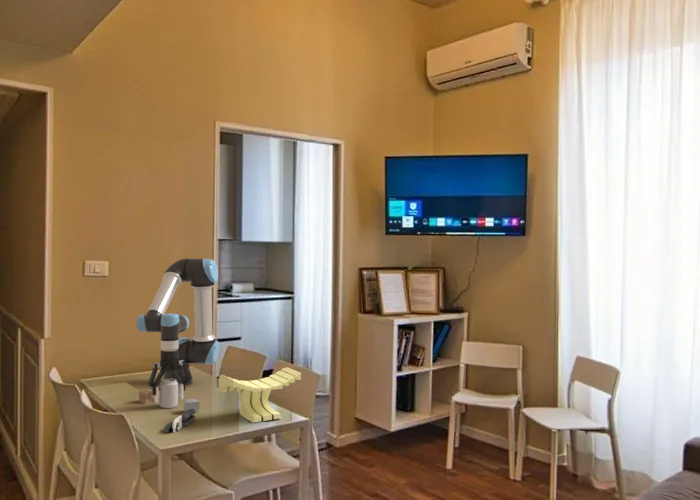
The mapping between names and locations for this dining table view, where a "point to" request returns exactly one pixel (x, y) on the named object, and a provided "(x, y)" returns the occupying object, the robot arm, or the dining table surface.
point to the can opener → (180, 421)
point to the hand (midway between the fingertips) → (168, 400)
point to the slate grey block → (192, 405)
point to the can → (168, 393)
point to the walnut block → (146, 396)
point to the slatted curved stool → (258, 393)
